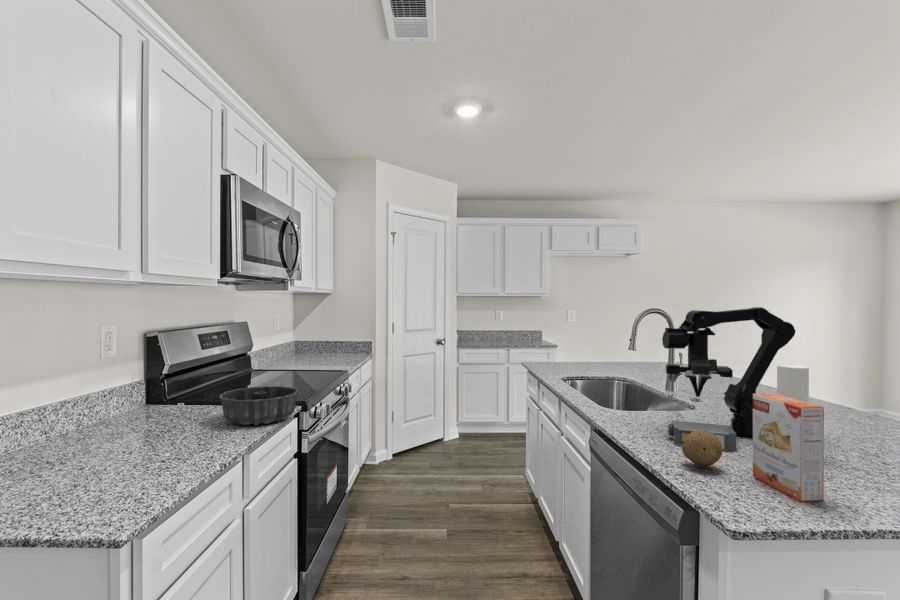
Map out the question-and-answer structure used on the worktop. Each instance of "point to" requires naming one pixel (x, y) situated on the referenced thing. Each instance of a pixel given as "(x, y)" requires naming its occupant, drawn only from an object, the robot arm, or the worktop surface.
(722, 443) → the side cover
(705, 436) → the potato
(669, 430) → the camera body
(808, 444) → the cracker box
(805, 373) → the cylindrical container
